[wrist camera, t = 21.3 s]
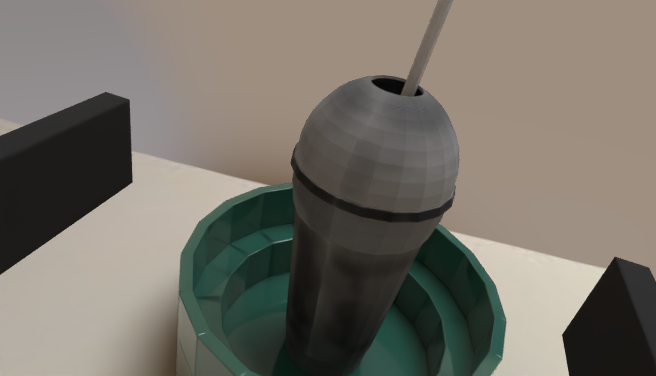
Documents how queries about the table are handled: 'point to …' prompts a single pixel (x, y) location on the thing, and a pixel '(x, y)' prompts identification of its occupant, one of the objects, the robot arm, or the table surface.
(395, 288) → the beverage cup
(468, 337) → the green pet bowl
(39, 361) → the table surface
